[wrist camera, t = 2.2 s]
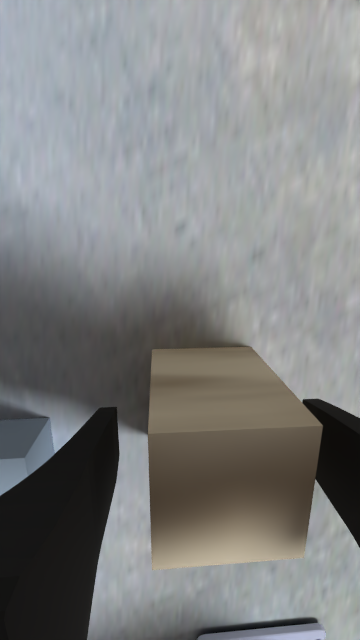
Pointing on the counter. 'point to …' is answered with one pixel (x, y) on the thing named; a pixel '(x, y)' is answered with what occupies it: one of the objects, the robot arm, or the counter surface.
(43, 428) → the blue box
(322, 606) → the counter surface
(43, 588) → the robot arm
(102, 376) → the counter surface
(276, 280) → the counter surface
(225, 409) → the birch block
